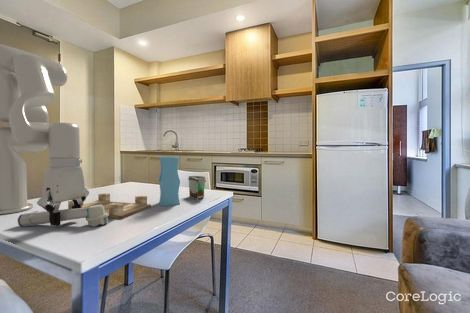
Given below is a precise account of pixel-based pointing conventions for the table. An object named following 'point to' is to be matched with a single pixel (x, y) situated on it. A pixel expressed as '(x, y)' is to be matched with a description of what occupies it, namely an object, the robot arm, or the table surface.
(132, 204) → the v block cradle
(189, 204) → the table surface
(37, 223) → the white electric toothbrush
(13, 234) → the table surface
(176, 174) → the vase
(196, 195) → the food container
